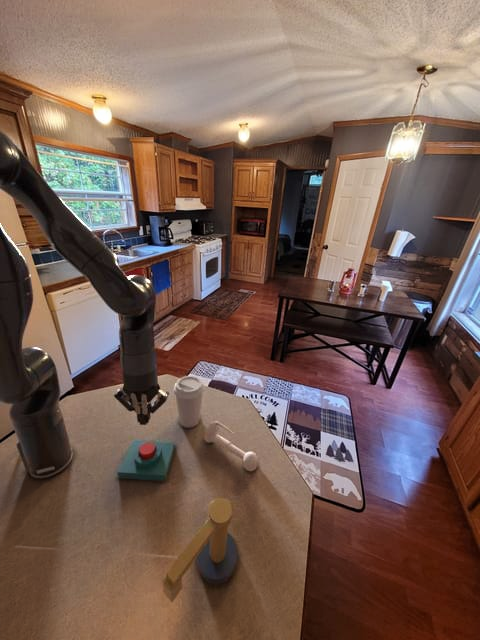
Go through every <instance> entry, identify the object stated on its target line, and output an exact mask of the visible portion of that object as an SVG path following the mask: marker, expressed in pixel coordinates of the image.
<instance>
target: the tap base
mask: <svg viewBox="0 0 480 640" xmlns="http://www.w3.org/2000/svg"><path fill="white" fill-rule="evenodd" d="M228 531H229V527H228V528H227V529H226V530H224V531H216V532H215V533H214V534H213V536H212V537H211V539H210V540H209V541H208V543H207V544H206V545H205V547H204V548H203V549H202V551H201V552H200V554H199V555H198V556H197V558H196V559H197V560H196V561H197V564H196V565H197V569H198V572H199V574H200V576H201V578H202V579H203V580H204V581H205V582H207V583H208V584H210V585H214V586H215V585H216V586H217V585H222V584H224V583H226V582H228V580H229V579H231V577H232V576H233V574H234V573H235V570H236V567H237V563H238V547H237V546H238V545H237V543H236V541H235V539H234V537H233V536H232V535H231V534H230V533H229V532H228Z"/></svg>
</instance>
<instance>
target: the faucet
mask: <svg viewBox="0 0 480 640" xmlns="http://www.w3.org/2000/svg"><path fill="white" fill-rule="evenodd" d="M220 427H221V428H223V429H224V430H226V431H228V432H229V433H230V434H232V435H233V436H235V435H236V433H235V432H234V431H232V430H231V429H230V428H228V427H227V426H226V425H224V424H223V423H222V422H220V421H217V420H214V421H211V422H210V424H209V426H208V428H207V429H206V431H205V433H204V435H203V439H204V441H205V442H206V443H213V444H215V445H217V446H219V447H220V448H221V449H223V450H224V451H225V452H229V453H231V454H233V455H235V456H237V457H238V458H240V459H242V460H243V468H244V469H245V470H246V471H247V472H253V471H255V470H256V469H257V465H258V461H259V458H258V456H257V454H256V453H255V452H254V451H247V452H245V451H244V450H242V449H240V448H239V447H238V446H236V445H234V444H232V442H231V441H230V440H228V439H226V438H225V437H223V436H221V435H219V434H218V432H219V430H220V429H221V428H220Z"/></svg>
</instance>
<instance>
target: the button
mask: <svg viewBox="0 0 480 640" xmlns="http://www.w3.org/2000/svg"><path fill="white" fill-rule="evenodd" d="M139 452H140V457H141V458H142V459H149V458H151V457H153V456H154V454H155V452H156V450H155V444H154V443H152V442H146V443H144V444H142V445H141V446H140V449H139Z"/></svg>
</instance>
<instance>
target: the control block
mask: <svg viewBox="0 0 480 640" xmlns="http://www.w3.org/2000/svg"><path fill="white" fill-rule="evenodd" d="M146 442H152V443H154V444H155V450H156V452H155V454H154V456H153V457H151V458H149V459H142V458H141V457H140V452H139V449H140V446H141V445H142V444H144V443H146ZM175 449H176V442H174V441H160V440H159V441H158V440H145V439H144V440H142V439H133V440H132V442H131V444H130V446H129V448H128V450H127V452H126V454H125V456H124V458H123V460H122V462H121V464H120V466H119V469H118V470H117V477H118V479H130V480H141V481H142V480H145V481H159V482H166V480H167V476H168V474H169V470H170V466H171V463H172V459H173V456H174V453H175Z"/></svg>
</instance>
